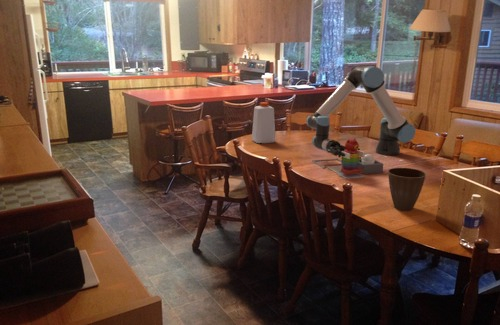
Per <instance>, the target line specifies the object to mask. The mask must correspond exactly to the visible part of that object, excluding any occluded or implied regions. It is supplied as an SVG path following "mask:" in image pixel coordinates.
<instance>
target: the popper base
mask: <svg viewBox="0 0 500 325" xmlns="http://www.w3.org/2000/svg"><path fill="white" fill-rule="evenodd" d="M374 160H375V162H374V164H363V163H361V161H362V158H361V159H359V164H358V168H360V169H361V170H362V173H361V175H369V174H383V171H384V163H382V162H380V161H378V160H377V159H374Z"/></svg>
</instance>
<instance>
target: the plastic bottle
mask: <svg viewBox="0 0 500 325" xmlns="http://www.w3.org/2000/svg"><path fill="white" fill-rule="evenodd" d="M252 120H253V121H252V130H251V131H252V133H251V139H252V141H253V142H254V143H257V144H260V143H262V144H272V143H275V142H276V127H275V124H276V123H275V108H274V107H273V106H270V105H269V102H267V101H265V102H263V101H262V102H259V105H257V106H254V108H253V119H252Z"/></svg>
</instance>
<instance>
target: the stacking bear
mask: <svg viewBox="0 0 500 325" xmlns="http://www.w3.org/2000/svg"><path fill="white" fill-rule="evenodd" d="M344 146H345V147H346V149H345V150H344V152H346V153H349V154H350V159H347V158H345V157H342V156H341V157H340V158H341V159H340V160H341V162H340V163H341V166H342V168H341V172H342V173H344V174H347V175H352V174H354V173H359V174H362V170H361V169H360V168H358V164H359V153H358V151H357V149H358V148H360V145H359V142H358V141H357V139H356V138H350V139H347V140H346V141H345V144H344Z"/></svg>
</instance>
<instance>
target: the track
mask: <svg viewBox="0 0 500 325" xmlns="http://www.w3.org/2000/svg"><path fill="white" fill-rule="evenodd" d="M311 161H312V162H313V163H314V164H316V165H317V166H319V167H320V168H322V169H326V168H327V169H328V170H330V171H332V172H333V173H336V175H338V176H340V177H342V179H359V178H364V177H365V176H364V175H363V174H361V173H354V174H352V175H347V174H344V173H342V172H341V168H342V165H330V166H326V167H325V166H324V165H322V164H320V163H319V162H324V161H327V162H328V161H339V162H340V163H342V162H341V159H339V158H326V159H313V160H311Z"/></svg>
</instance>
